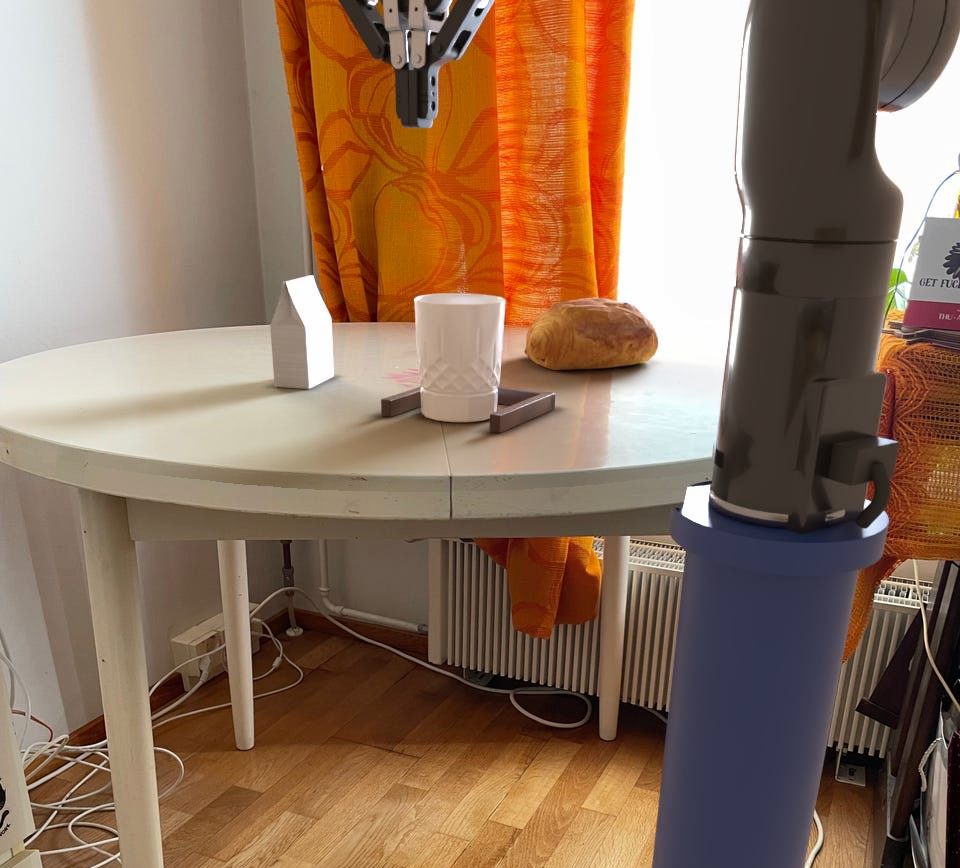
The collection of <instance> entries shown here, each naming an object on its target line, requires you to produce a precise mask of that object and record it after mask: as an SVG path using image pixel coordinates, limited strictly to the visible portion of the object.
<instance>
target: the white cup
mask: <svg viewBox="0 0 960 868" xmlns="http://www.w3.org/2000/svg"><path fill="white" fill-rule="evenodd" d="M506 301H507V300H506V299H505V298H504V297H502V296H497V295H493V294H492V295H491V294H484V293H483V294H481V293H461V292H460V293H459V292H458V293H456V292H453V293H451V292H447V293H429V294H428V293H427V294H422V295H417V296H415V297H414V298H413V303H414V306H413V307H414V321H415V342H416V343H415V345H416V358H417V367H418V371H417V373H418V374H417V375H418V383H419V385H420V387H421V389H420V390H421V406H420V408H421V409H420V411H421V414H422V415H423V416H424V417H425V418H427V419H430V420H434V421H439V422H444V423H445V422H449V423H460V424H461V423H465V424H466V423H476V422H481V421H487V420H490V414H492V413H494V412H497V411H498V404H497V400H498V389H497V387H498V386H500V381H501V368H502V367H501V366H502V358H503V347H504V332H505V331H504V330H505V316H506V314H505V312H506V303H507V302H506Z"/></svg>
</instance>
